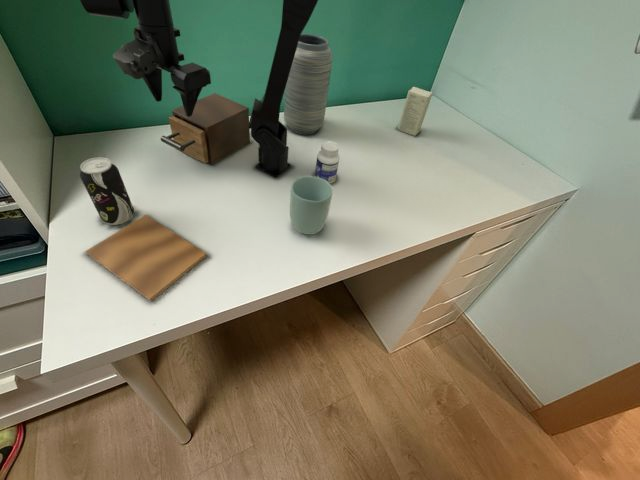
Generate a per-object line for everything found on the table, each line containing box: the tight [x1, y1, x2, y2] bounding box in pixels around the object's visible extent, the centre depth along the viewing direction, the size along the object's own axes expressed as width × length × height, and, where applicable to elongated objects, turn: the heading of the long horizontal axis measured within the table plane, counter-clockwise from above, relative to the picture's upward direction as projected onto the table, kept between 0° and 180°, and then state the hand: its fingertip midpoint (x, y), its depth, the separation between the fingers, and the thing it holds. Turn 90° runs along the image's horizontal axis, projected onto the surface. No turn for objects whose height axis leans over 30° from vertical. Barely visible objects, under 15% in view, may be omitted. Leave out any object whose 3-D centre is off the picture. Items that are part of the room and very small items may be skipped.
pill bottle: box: [314, 140, 340, 184], centre depth 77 cm, size 5×5×9 cm
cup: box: [289, 175, 333, 235], centre depth 64 cm, size 8×8×10 cm
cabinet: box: [171, 92, 251, 165], centre depth 81 cm, size 14×11×10 cm
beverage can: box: [79, 156, 135, 226], centre depth 59 cm, size 6×6×12 cm
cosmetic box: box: [397, 86, 433, 137], centre depth 98 cm, size 6×4×12 cm
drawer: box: [160, 115, 209, 164], centre depth 78 cm, size 17×10×8 cm, turn 148°
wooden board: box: [85, 214, 208, 302], centre depth 58 cm, size 16×12×1 cm
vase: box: [283, 33, 334, 135], centre depth 88 cm, size 12×12×23 cm
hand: (173, 108), depth 69 cm, fingers open, 9 cm apart
